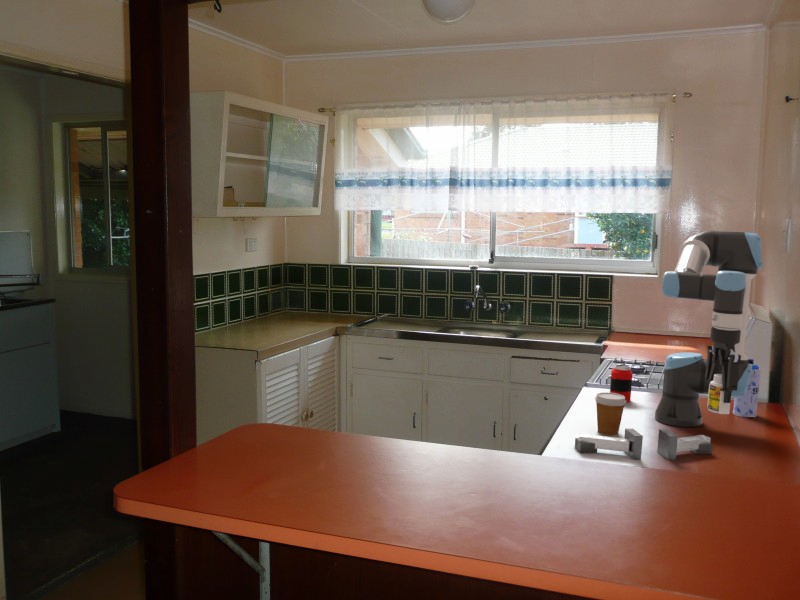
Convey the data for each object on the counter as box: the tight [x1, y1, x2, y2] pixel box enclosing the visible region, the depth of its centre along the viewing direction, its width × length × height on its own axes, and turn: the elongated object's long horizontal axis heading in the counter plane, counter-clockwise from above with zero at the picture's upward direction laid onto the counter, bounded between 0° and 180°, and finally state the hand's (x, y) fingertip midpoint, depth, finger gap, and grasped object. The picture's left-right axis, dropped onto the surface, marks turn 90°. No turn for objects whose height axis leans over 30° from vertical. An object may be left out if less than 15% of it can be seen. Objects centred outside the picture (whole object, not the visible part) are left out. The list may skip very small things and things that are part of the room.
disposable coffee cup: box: [594, 391, 627, 437], centre depth 244 cm, size 10×10×12 cm
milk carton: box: [732, 358, 762, 418], centre depth 272 cm, size 8×8×20 cm
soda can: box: [609, 366, 633, 403], centre depth 286 cm, size 8×8×12 cm
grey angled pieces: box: [574, 428, 714, 461], centre depth 225 cm, size 10×40×7 cm, turn 96°
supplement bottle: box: [707, 374, 723, 414], centre depth 212 cm, size 6×6×10 cm
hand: (717, 410), depth 213 cm, fingers closed on supplement bottle, 6 cm apart
